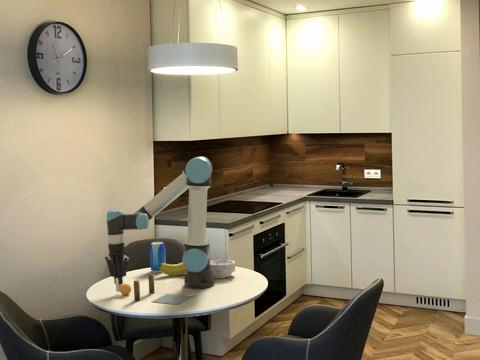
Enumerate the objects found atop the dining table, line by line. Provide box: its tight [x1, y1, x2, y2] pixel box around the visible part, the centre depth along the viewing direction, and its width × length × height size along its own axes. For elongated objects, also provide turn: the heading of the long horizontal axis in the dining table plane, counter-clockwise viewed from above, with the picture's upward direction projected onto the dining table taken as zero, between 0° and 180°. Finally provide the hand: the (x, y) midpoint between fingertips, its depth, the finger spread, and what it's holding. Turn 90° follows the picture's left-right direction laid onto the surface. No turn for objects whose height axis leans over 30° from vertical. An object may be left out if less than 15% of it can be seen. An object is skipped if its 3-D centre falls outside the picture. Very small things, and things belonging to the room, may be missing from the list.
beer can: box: [149, 241, 167, 274], centre depth 333 cm, size 8×8×16 cm
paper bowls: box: [210, 259, 236, 279], centre depth 317 cm, size 15×15×8 cm
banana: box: [159, 261, 187, 277], centre depth 323 cm, size 23×6×20 cm, turn 106°
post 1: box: [133, 279, 141, 302], centre depth 277 cm, size 3×3×9 cm
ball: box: [119, 283, 132, 296], centre depth 287 cm, size 6×6×6 cm
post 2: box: [147, 273, 156, 295], centre depth 288 cm, size 3×3×9 cm
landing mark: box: [151, 293, 194, 306], centre depth 277 cm, size 14×14×1 cm
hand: (119, 291), depth 289 cm, fingers closed
